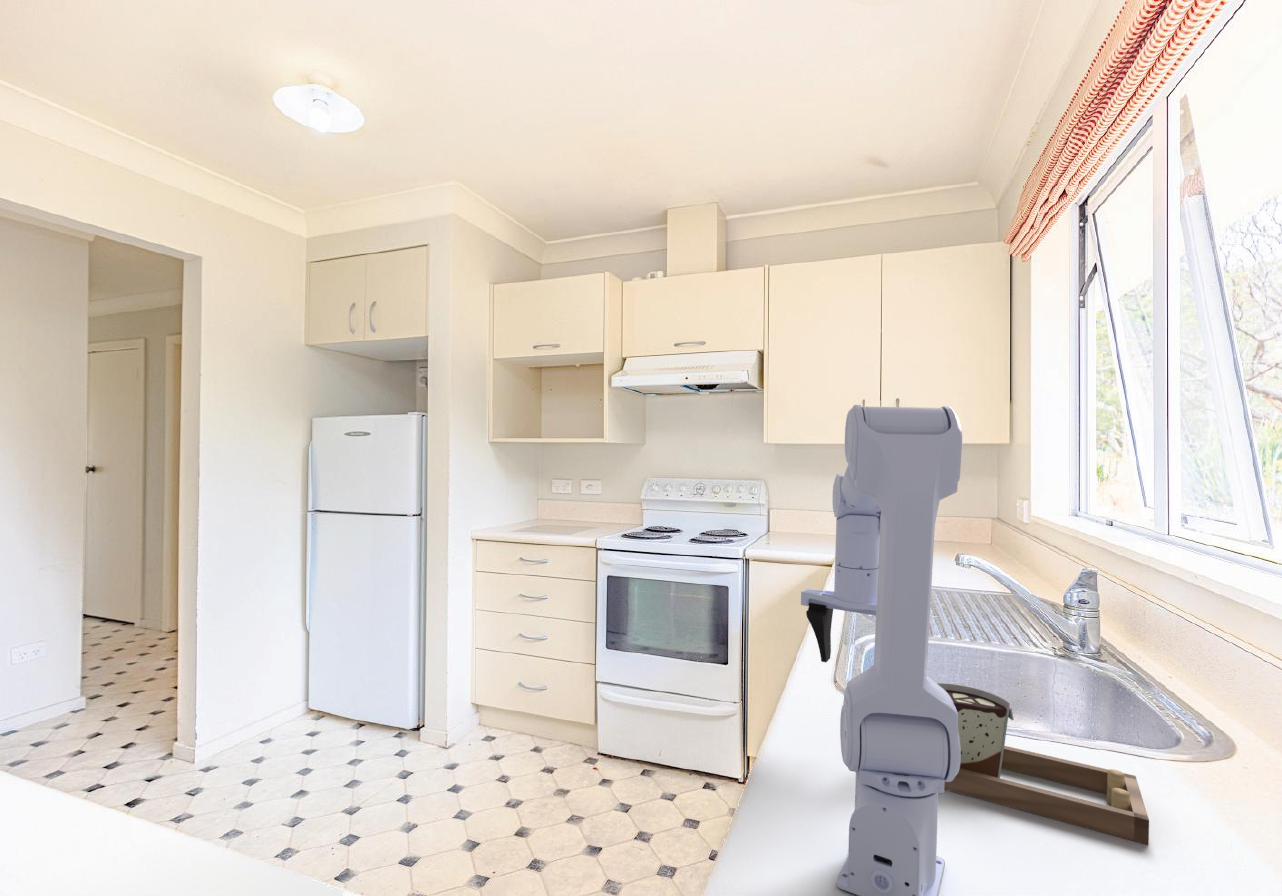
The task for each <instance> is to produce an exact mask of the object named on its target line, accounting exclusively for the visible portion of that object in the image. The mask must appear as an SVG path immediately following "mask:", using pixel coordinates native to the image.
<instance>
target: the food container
mask: <svg viewBox="0 0 1282 896" xmlns="http://www.w3.org/2000/svg"><path fill="white" fill-rule="evenodd" d="M936 683H937V684H938V685H939V686H940V687H942V688H943V689H944V690H945V691H946V692H947V693H948V694H949V696H950V697H951V699H952V701H953V703H954V705H955V707H956V710H957V713H958V732H959V738H960V747H961V762H960V768H961V769H965V770H969V771H973V772H977V773H981V774H985V775H989V776H993V777H997V778H1001V773H1002V772H1001V771H1002V768H1001V767H1002V760H1003V752H1004V746H1006V737H1007V729H1008V722H1009V721H1008V720H1009V719H1010V720H1012V721H1015V719H1014V713H1013V708H1012V707H1011V705H1010V702H1009V701H1008V700H1006V699H1005V698H1003V697H1000V696H999V695H997V694H994V693H992V692H989V691H986V690H983V689H980V688H975V687H971V686H967V685H960V684H955V683H945V682H936Z"/></svg>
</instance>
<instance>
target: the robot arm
mask: <svg viewBox="0 0 1282 896" xmlns="http://www.w3.org/2000/svg"><path fill="white" fill-rule="evenodd" d="M845 419H846V420H845V428H844V457H845V460H846V463H847V467H846V469H845V471H844V474H838V473H837V474H835V475H836V476H835V478H834V482H833V485H832V510H833V515H834V517H835V519H836V522H835V554H834V558H835V559H834V560H835V561H834V583H833V584H834V587H833V589H834V590H833V591H832V590H821V589H819V590H818V589H809V588H805V589H803V590H802V591H800V594H801V595H800V605H801V606H804V607H808V608H807V610H806V611H805V612H806V613H805V614H806V615H805V616H806V618H807V620H808V621H809V624H810V625H811V628H812V631H813V633H814V636H815V638H816V641H817V645H818V649H819V650H818V651H819V654H820V661H821V662H822V663H828V661H829V660H830V659H831V654H832V648H831V647H832V642H831V641H832V638H831V633H832V622H833V613H834V610H838V611H844V612H851V613H858V614H863V615H868V616H875V628H874V629H875V632H874V634H875V635H874V651H873V665H871V667H869V668H867V669H866V670H865V671H862V672H861V673H859V674H858V675H856V676H855V677H853V678H851V679H850V680H849V681H847V683H846V687H845V688H844V691H843V692H844V693H843V703H842V704H843V705H842V706H841V709H840V717H839V718H840V721H839V722H840V725H839V728H840V729H839V733H840V736H839V737H840V749H841V751H840V753H841V756H842V757H841V758H842V762H843V764H844V765H845V766H846V767H847V768H848V770H849V772H855V788H854V789H855V793H854V794H855V795H854V799H855V800H854V809H853V812H852V814H851V816H850V819H849V825H848V849H847V851H848V854H847V858H846V860H845V862H844V864H843V866H842V869H840V872H839V875H838V876H837V879H836V887H838V889H841V890H843V891H846V892H849V893H851V894H854V895H856V896H939V893H940V888H941V884H942V879H943V875H944V871H945V867H946V860H945V859H944V858H942V857H940V856H939V855H937V848H938V847H937V845H938V841H937V840H938V837H937V836H938V811H939V810H938V808H939V806H938V805H939V804H938V803H939V794H944V793H945V789H944V783H945V782H951V781H953V779H954V778H955V776H956V775H957V774H958V772H959V769H960V762H961V747H960V738H959V732H958V713H957V710H956V707H955V705H954V703H953V701H952V699H951V697H950V696H949V694H948V693H947V692H946V691H945V690H944V689H943V688H942V687H940V686H939V685H938V684H937V683H938V682H935V681H934V680H933V679H932V678H930V677H929V676H928V675H927V670H928V655H929V654H928V651H929V639H930V638H929V635H930V634H929V633H930V618H931V617H930V615H931V601H932V600H931V598H932V582H933V581H932V580H933V567H934V566H933V565H934V563H933V562H934V550H935V549H934V547H935V545H934V544H935V529H936V528H935V527H936V521H937V517H938V511H939V505H940V501H942V500H944V499H946V498H948V497H949V496H950V497H951V496H952V495H954V494H957V492H958V489H959V488H958V486H959V481H960V478H961V467H962V466H961V465H962V464H961V463H962V450H963V449H962V447H963V431H962V427H961V422H960V418H959V416H958V414H957V413H956V412H955V411H954V409H953V408H952V407H951V406H950V405H949V406H947V405H945V406H940V407H917V406H916V407H913V406H911V407H906V406H903V407H901V406H861V405H860V404H854V405H853V406H852V408H850V410H848V411H847V414H846V418H845Z"/></svg>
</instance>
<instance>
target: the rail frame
mask: <svg viewBox="0 0 1282 896" xmlns="http://www.w3.org/2000/svg"><path fill="white" fill-rule="evenodd" d="M1001 769H1004V770H1008V771H1013V772H1016V773H1021V774H1025V775H1029V776H1033V777H1035V778H1036V777H1037V778H1041V779H1046V780H1049V781H1053V782H1058V783H1061V784H1065V785H1069V786H1073V787H1078V788H1082V789H1085V790H1089V791H1094V792H1097V793H1103V794H1106V803H1108V804H1109V805H1106V804H1102V803H1099V802H1094V801H1091V800H1086V799H1083V798H1079V797H1075V796H1071V795H1066V794H1063V793H1060V792H1055V791H1051V790H1047V789H1043V788H1039V787H1035V786H1031V785H1028V784H1024V783H1019V782H1016V781H1012V780H1008V779H1006V778H1001V777H1000V778H997V777H993V776H989V775H985V774H981V773H977V772H973V771H969V770H965V769H961V768H960V769H959V772H958V774H957V775H956V776H955V778H954V779H953V781H951V782H945V783H944V791H945V790H946V791H948V792H949V791H950V792H953V793H957V794H961V795H965V796H967V797H972V798H974V799H975V798H976V799H979V800H982V801H986V802H989V803H994V804H998V805H1002V806H1005V807H1008V808H1012V809H1014V810H1015V809H1016V810H1020V811H1024V812H1026V813H1030V814H1034V815H1037V816H1041V817H1045V818H1048V819H1052V820H1056V821H1060V822H1064V823H1067V824H1071V825H1074V826H1079V827H1081V828H1085V829H1089V830H1093V831H1096V832H1099V833H1104V834H1107V835H1111V836H1115V837H1118V838H1122V839H1126V840H1129V841H1133V842H1136V843H1140V844H1144V845H1147V846H1148V845H1150V844H1149V838H1150V837H1149V836H1150V819H1149V815H1148V811H1147V809H1146V807H1145V806H1146V805H1145V801H1144V799H1143V797H1142V793H1141V790H1140V786H1139V783H1138V779H1137V776H1136V775H1133V774H1130V773H1129V774H1128V773H1124V772H1122V771H1120V770H1117V769H1111V768H1110V769H1107V768H1103V767H1099V766H1094V765H1090V764H1086V763H1081V762H1077V761H1074V760H1073V761H1072V760H1068V759H1065V758H1064V759H1063V758H1059V757H1054V756H1051V755H1046V754H1041V753H1039V752H1032V751H1030V750H1025V749H1020V748H1016V747H1011V746H1008V745H1004V752H1003V760H1002V767H1001ZM1110 805H1111V806H1110Z"/></svg>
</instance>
